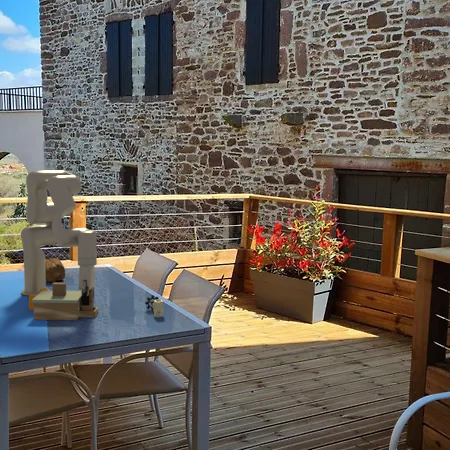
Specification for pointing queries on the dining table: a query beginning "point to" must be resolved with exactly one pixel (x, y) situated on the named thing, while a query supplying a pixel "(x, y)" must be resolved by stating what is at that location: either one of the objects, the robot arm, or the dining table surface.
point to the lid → (58, 295)
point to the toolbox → (61, 311)
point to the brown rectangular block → (91, 296)
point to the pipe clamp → (31, 296)
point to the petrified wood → (54, 270)
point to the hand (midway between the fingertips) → (87, 302)
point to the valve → (155, 306)
